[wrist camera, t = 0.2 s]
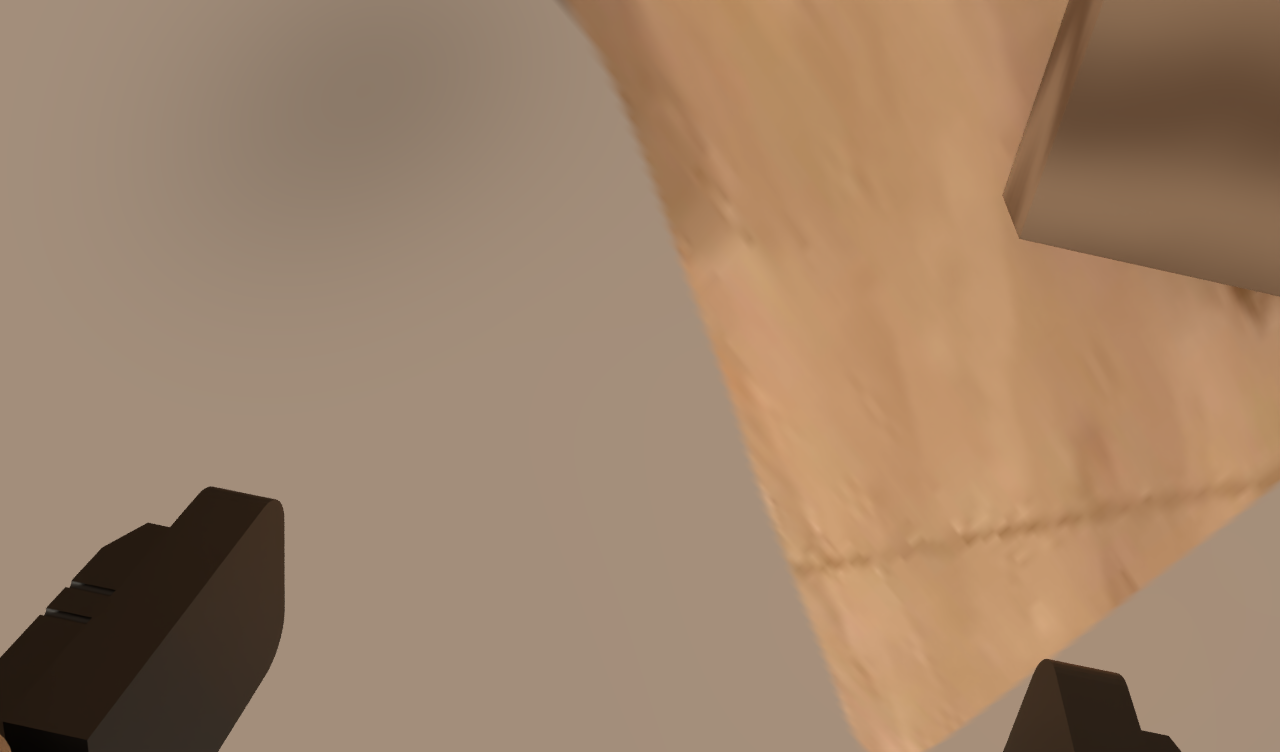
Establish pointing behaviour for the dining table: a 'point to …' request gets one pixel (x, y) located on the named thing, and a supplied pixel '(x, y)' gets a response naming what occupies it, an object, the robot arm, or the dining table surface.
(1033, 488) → the dining table surface
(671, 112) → the dining table surface
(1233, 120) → the walnut block
